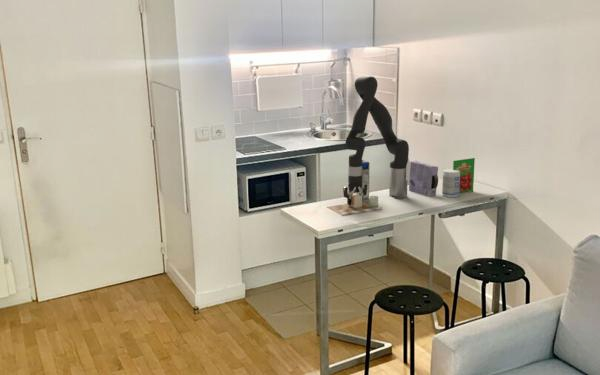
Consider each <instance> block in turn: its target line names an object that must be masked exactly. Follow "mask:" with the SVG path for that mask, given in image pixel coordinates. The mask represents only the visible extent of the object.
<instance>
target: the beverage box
mask: <svg viewBox="0 0 600 375" xmlns="http://www.w3.org/2000/svg"><path fill="white" fill-rule="evenodd" d="M362 184H367V194H366V195H364V196H363V201H366V200H370V161H367V160H364V159H362ZM361 190H362V191H363V187H362V188H361ZM356 193H357V192H356ZM357 194H359V193H357Z"/></svg>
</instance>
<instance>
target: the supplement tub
mask: <svg viewBox="0 0 600 375" xmlns="http://www.w3.org/2000/svg"><path fill="white" fill-rule="evenodd" d="M459 187H460V171H459V170H453V168H446V169H443V171H442V189H441V192H442V193H441V194H442V196H443V197H445V198H458V197H459V196H460V194H459Z"/></svg>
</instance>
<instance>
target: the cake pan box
mask: <svg viewBox="0 0 600 375" xmlns="http://www.w3.org/2000/svg"><path fill="white" fill-rule="evenodd" d="M438 172H439V167H438V166H436V165H433V164H430V163H425V162H421V161H417V160H411V161H410V168H409V181H408V184H409V185H408V191H410V192H414V193H417V194H419V195H423V196H427V197H429V198H430V197H431V198H433V197H437V187H438V186H439V185H438V184H439V175H438V174H439V173H438Z"/></svg>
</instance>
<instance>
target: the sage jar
mask: <svg viewBox="0 0 600 375" xmlns="http://www.w3.org/2000/svg"><path fill="white" fill-rule="evenodd" d="M369 203H370V208H376V207H379V196H378V195H369Z"/></svg>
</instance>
